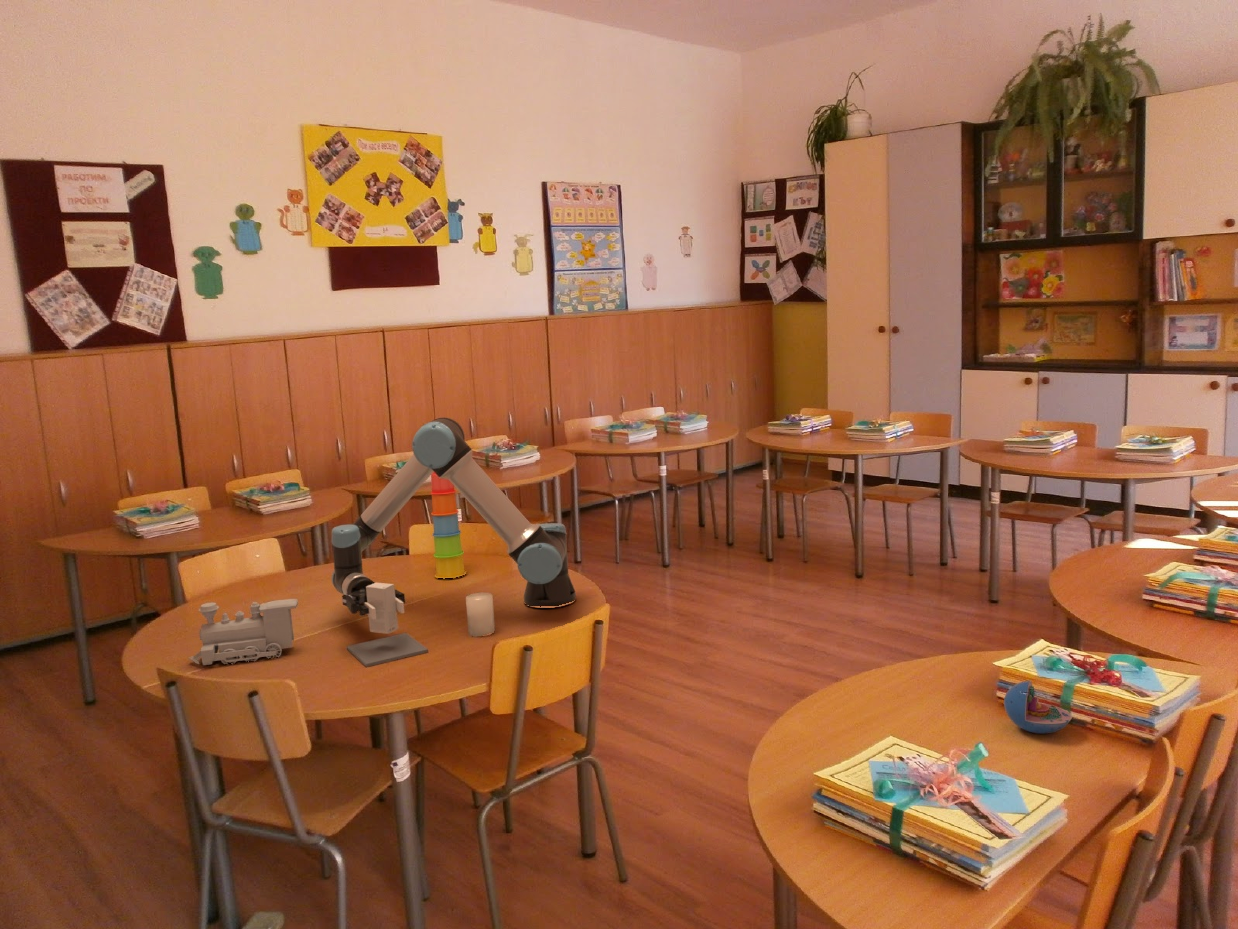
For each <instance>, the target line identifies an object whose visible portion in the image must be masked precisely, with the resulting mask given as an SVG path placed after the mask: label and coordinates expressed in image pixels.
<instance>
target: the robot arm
mask: <svg viewBox="0 0 1238 929" xmlns="http://www.w3.org/2000/svg"><path fill="white" fill-rule="evenodd" d="M411 444H412V445H411V446H412V448H411V449H412V452H413V454H412V455H411V456H410V457H409V459H408V460H407V461H406V463H404V465H403V466H402V467H401V468H400V469H399V470H398V472H397V473H396V474H395V475H394V476H393V477H392V478H391V479H390V481H388V483H387V484H386V486H385V487H384V488H383V489H382V490H381V491H380V492H379V494H378V495H377V496H376V497H375V498H374V499H373V501H372V502H371V503H370V504H369V505H368V506H367V508H365V510H364V511H363V512H362V514H360V516H359V517H358V518H357V519H356V520H355V521H354V522H353V523H352V524H340V525H337V526H335V527H333V528H332V529H331V540H330V543H331V547H332V555H333V556H332V557H333V565H334V566H333V572H332V575H331V583H332V585H333V587H334V588H335V590H336V591H337V592H338V593H340V594H342V595H341V598H342V599H341V600H342V605H343V606H345V607H347V608H348V610H349V611H350V613H351V614H353V615H355V614H357V613H358V612H359V615H360V616H362V617H363V616H365V615H367V616H368V617H369V616H370V617H371V618H372V619H376V608H374V607H373V606H372V605H370V604H369V603H368V602H367V593H366V586H369V585H371V584H374V583H376V582H375V581H374V580H372V579H370V578H369V577H368V576H366V575H365V574H364V570H363V559H362V558H363V557H362V552H363V551H365V549H366V548H368V547H369V546H371V545H372V544H373V543H374V542H375V540H376V538H377V537H378V536H380V534H381V533H382V532H383V530H384V529H385V528H386V527H387V526H388V525H389V523H390V522H391V521H392V520H393V519H394V518H395V516H396V515H397V514H399V512H400V511H401V510H402V508H403V507H405V505H406V504H407V503H408V502H409V500H410V499H411V498H412V497H413V496H414V495H415V494H416V493H417V491H419V489H420V488H421V487H422V486H423V484H425V482H426V481H427V480H428V479H429V478H431V474H432V473H433V472H435V473H436V474H437V476H438V477H439V478H441V479H448V480H450V482H451V483H452V484H453V485H454V488H456V490H457V491H459V493H460V494H461V495H462V496H463V497H464V498H465V499H466V501H467V502H469V504H470V505H471V507H473V508H474V509H475V511H476V512H478V514H479V515H480V516H481V517H482V518H483V519H484V521H486V522H487V524H488V525H489V527H491V528H492V530H494V532H495V533H496V534H497V535H498V536H499V537H500V538H501V539H502V540H503V542H504V543H505V544H506V546H507V551H506V552H507V555H509V557H510V558H511V559H512V560H513V561H514V562H515V564H516V565H517V569H518V572H519V574H520V576H521V577H522V578H523V579H524V580H525V581H527V582H526V585H525V588H524V594H523V603H524V602H525V603H526V604H527V605H529V606H540V607H541V606H559V605H562V604H566V603H569V602H572V601H574V600H575V599H576V600H577V595H576V594H577V593H576V589H575V587H574V585H573V582H572V579H571V577H570V575H569V562H568V560H569V559H568V547H567V546H568V544H567V534H568V533H567V530H566V526H565V525H564V524H563V523H558V522H557V523H556V522H555V523H554V522H553V523H536V524H535V523H531V522H530V521H529V520H528V519H527V518H526V516H524V515H523V513H522V512H521V511H520V510H519V509H518V507H517V506H516V505H515V504H514V503H513V502H512V501H511V500H510V498H508V497H507V495H506V494H505V493H504V492H503V491H502V490H501V489H500V488H499V486H498V485H497V484H496V483H495V481H493V480H492V479H491V477H490V476H489V475H488V474H487V473H486V472H485V470H484V469H483V468H482V467H481V466H480V465H479V464H478V463H477V462H476V460H475V459H474V458H473V448H471V447H470V445H468V443H467V442H466V436H465V431H464V429H463V428H462V426H461V424H460V423H458V422H457V421H456V420H455V419H452V418H450V417H438V418H435V419H433V420H431V421H429V422H426V423H425V424H423V425H422V426H421V427H420V428H419V429H418V430H417V431H416V433H415V434H414V435H413V438H412V443H411ZM395 598H396V610H397V611H398V612H399V613H400V614H405V604H406V598H405V593H403V592H402V591H399V590H397V589H395Z"/></svg>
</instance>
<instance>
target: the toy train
mask: <svg viewBox="0 0 1238 929" xmlns="http://www.w3.org/2000/svg"><path fill="white" fill-rule="evenodd" d="M219 606H220V605H217V603H216V602H206V603H203V604H201V605H200V608H199V609H198V612H199V613H201V614H202V616H203V617H204V618H205V619H206V622H207V623H203V624H201V629H199V631H198V632H199V633H198V634H199V635H198V636H199V640H201V642H202V645H201V647H200V651H199V652H197V653H196V654H195V655H192V656H190V657H188V660H190V661H192V662H194V663H195V664H197V665H200V660H201V663H202V666H207V665H208V666H209V665H213V663H214V662H216V661H218V662H219V661H221V663H222V664H224V665H225V664H228V663H231V664H232V665H234V664H236V662H238V661H245V662H247V661H248V662H247V663H250V662H249V661H254V662H256V661H258V659H260V658H262V657H264V658H265V657H266V658H267V659H269V658H271V657H278V658H280V657H281V655H282V651H283V650H282V649H287V648H293V641H295V638H294V637H295V636H294V626H293V620H292V619H293V618H292V610H294V609H297V608H298V606H299V601H298V599H297V598H286V599H278V600H272V601H268V602H263V603H260V604H259V603H258V602H257V601H253V602H252V603H251V605H250V607H249V608H250V611H249V614H250V615H251V617H244V616H245V613H244V612H243V611H241V610H238V611H237V612H236V613H235V614H234V617H236V619H234V620H231V619H230V618H229V616H228V614H227V613H226V612H224V613H222V616H221V621H220V622H214V618H215V616H216V614H217V611H218V610H219V609H220V607H219ZM261 614H262V615H261ZM233 663H234V664H233Z"/></svg>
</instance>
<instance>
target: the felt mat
mask: <svg viewBox="0 0 1238 929" xmlns="http://www.w3.org/2000/svg"><path fill="white" fill-rule="evenodd" d="M346 650H347V651H348V652H349V653H350V654H351V655H353V656H354V657H355V658H356V659H357V660H358V661H359V662H360V663H361V664H362V665H363V666H364V667H365V668H369V667H372V666H377V665H381V664H382V665H383V664H385V663H388V662H389V661H390V662H393V661H398V660H402V659H406V658H405V657H407V658H410V657H414V656H418V655H422V654H427V653H429V649H428V648H427V647H425V646H424V645H423V644H422V643H420V642H419V641H417V639H415V638H414V637H413V636H411V635H410V634H408V633H407V632H404V633H399V634H394V635H391V636H385V637H381V638H376V639H373V640H372V639H371V640H368V641H363V642H360V643H359V642H358V643H355V644H352V645H347V646H346ZM397 659H398V660H397Z"/></svg>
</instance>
